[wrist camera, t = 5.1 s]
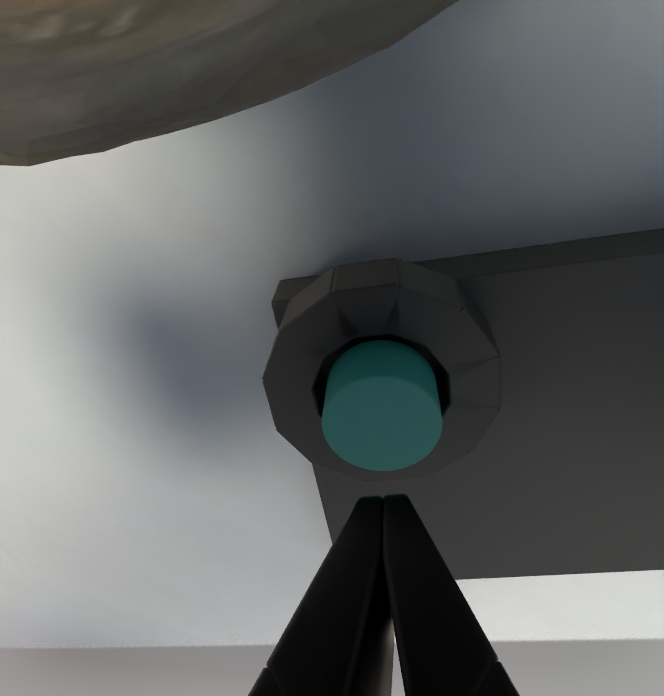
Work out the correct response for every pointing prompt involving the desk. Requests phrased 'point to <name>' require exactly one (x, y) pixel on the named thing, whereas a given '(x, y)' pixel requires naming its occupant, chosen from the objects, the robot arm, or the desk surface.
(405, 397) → the button
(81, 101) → the bowl
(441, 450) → the scale
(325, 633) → the robot arm
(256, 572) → the desk surface
